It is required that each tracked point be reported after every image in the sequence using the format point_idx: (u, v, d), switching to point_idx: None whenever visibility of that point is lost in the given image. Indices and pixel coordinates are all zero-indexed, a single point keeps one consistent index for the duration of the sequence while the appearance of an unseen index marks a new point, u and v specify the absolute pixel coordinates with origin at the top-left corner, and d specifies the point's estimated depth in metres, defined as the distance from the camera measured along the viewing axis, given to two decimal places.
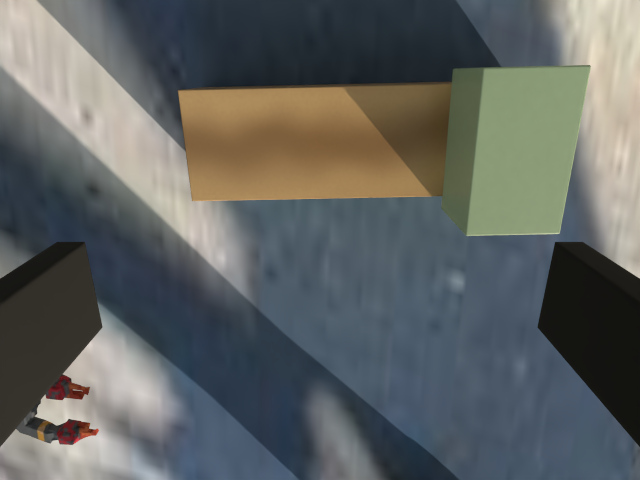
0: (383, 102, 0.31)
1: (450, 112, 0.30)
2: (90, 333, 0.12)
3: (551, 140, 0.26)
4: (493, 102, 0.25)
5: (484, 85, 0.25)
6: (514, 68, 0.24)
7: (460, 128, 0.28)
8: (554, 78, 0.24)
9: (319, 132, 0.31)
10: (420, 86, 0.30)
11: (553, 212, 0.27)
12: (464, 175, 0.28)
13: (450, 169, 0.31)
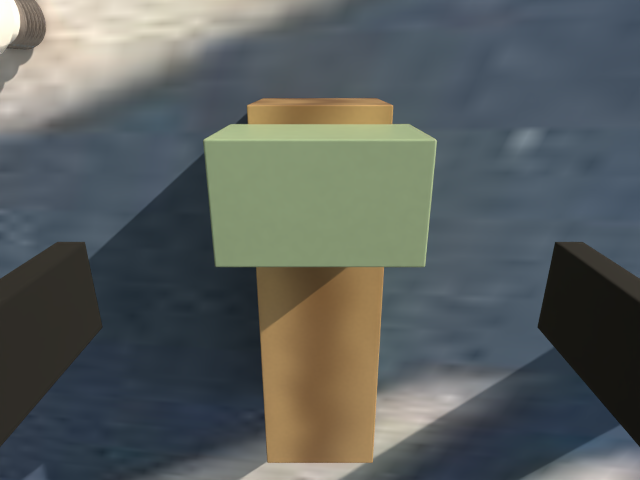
0: (275, 295, 0.28)
1: None
2: (91, 333, 0.12)
3: (299, 174, 0.19)
4: (253, 253, 0.20)
5: (233, 264, 0.21)
6: (213, 233, 0.20)
7: None
8: (222, 183, 0.19)
9: (306, 354, 0.30)
10: None
11: (402, 154, 0.19)
12: None
13: None
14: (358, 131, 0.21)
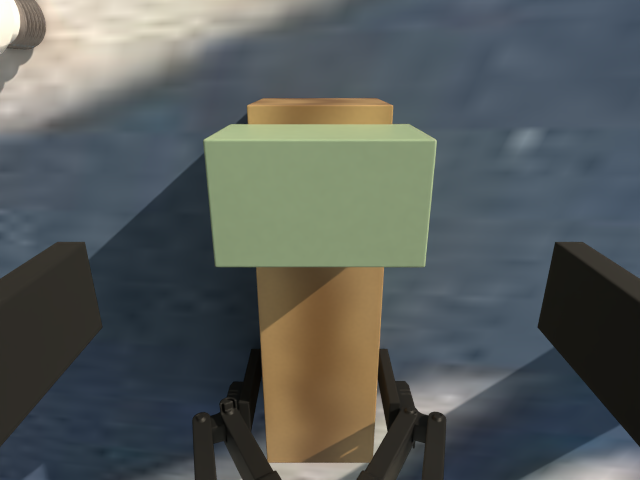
0: (275, 295, 0.28)
1: None
2: (91, 333, 0.12)
3: (299, 174, 0.19)
4: (253, 253, 0.20)
5: (233, 265, 0.21)
6: (213, 233, 0.20)
7: None
8: (222, 183, 0.19)
9: (306, 354, 0.30)
10: None
11: (402, 154, 0.19)
12: None
13: None
14: (358, 131, 0.21)
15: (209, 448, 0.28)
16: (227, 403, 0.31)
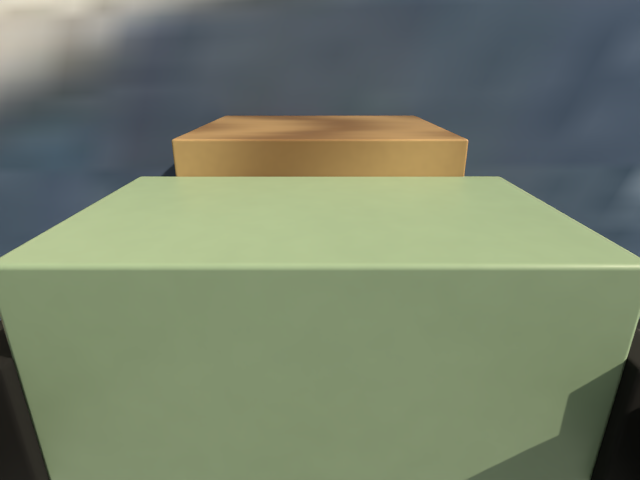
0: None
1: None
2: None
3: (263, 352, 0.07)
4: None
5: None
6: (50, 478, 0.08)
7: None
8: (54, 372, 0.07)
9: None
10: None
11: (550, 304, 0.07)
12: None
13: None
14: (410, 210, 0.09)
15: None
16: None
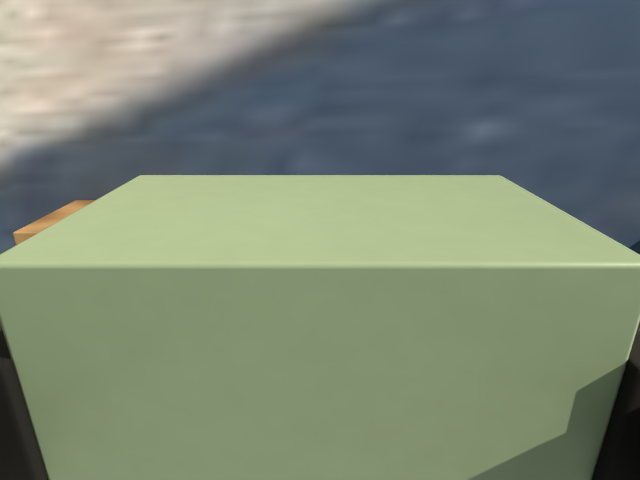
0: None
1: None
2: None
3: (262, 350, 0.07)
4: None
5: None
6: (49, 478, 0.08)
7: None
8: (53, 371, 0.07)
9: None
10: None
11: (552, 302, 0.07)
12: None
13: None
14: (410, 209, 0.09)
15: None
16: None
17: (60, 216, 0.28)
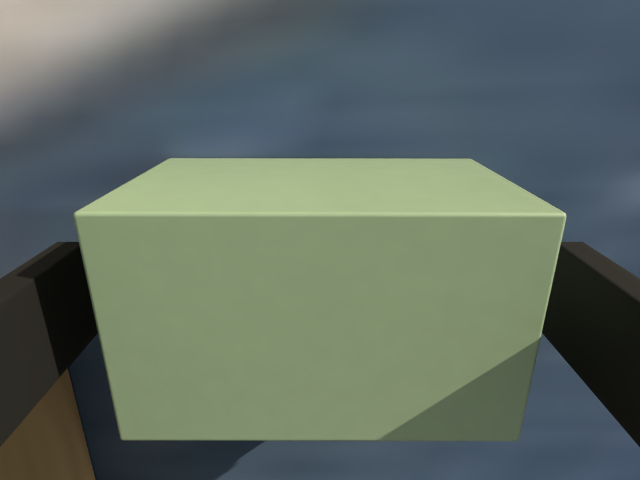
0: None
1: None
2: (91, 333, 0.12)
3: (277, 281, 0.09)
4: (191, 418, 0.11)
5: (155, 437, 0.11)
6: (110, 385, 0.10)
7: None
8: (119, 297, 0.09)
9: None
10: None
11: (491, 243, 0.09)
12: None
13: None
14: (391, 181, 0.11)
15: None
16: None
17: None
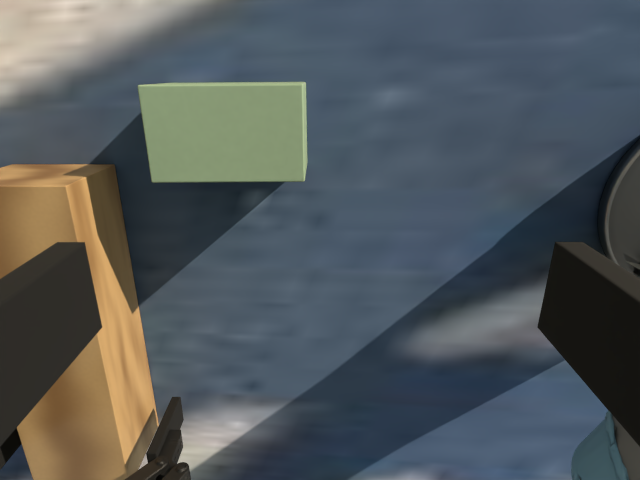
0: None
1: None
2: (91, 333, 0.12)
3: (207, 110, 0.27)
4: (178, 171, 0.28)
5: (165, 180, 0.28)
6: (148, 156, 0.28)
7: None
8: (152, 118, 0.27)
9: (46, 393, 0.33)
10: None
11: (278, 95, 0.26)
12: None
13: None
14: (256, 83, 0.29)
15: None
16: None
17: None
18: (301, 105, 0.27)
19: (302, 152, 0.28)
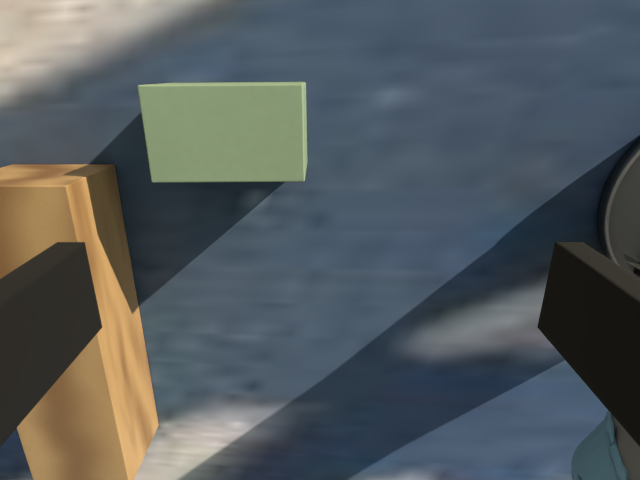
0: None
1: None
2: (91, 333, 0.12)
3: (207, 110, 0.27)
4: (178, 171, 0.28)
5: (164, 180, 0.28)
6: (148, 156, 0.28)
7: None
8: (152, 118, 0.27)
9: (46, 393, 0.33)
10: None
11: (278, 95, 0.26)
12: None
13: None
14: (256, 83, 0.29)
15: None
16: None
17: None
18: (301, 105, 0.27)
19: (302, 152, 0.28)
